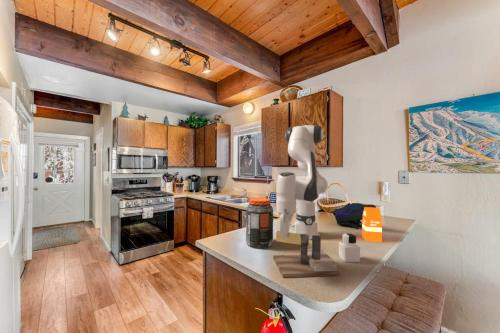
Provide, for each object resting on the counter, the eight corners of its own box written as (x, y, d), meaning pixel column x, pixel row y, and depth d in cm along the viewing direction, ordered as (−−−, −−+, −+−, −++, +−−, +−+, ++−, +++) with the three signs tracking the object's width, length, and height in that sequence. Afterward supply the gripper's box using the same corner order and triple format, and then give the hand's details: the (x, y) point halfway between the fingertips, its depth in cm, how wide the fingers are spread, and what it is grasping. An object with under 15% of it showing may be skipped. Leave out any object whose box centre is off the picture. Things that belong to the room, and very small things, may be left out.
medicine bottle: (352, 256, 109) (352, 232, 109) (360, 262, 101) (360, 237, 102) (338, 256, 108) (338, 232, 108) (345, 262, 101) (345, 236, 101)
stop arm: (309, 243, 98) (309, 234, 98) (308, 246, 94) (308, 237, 94) (278, 238, 103) (278, 230, 103) (275, 241, 99) (276, 232, 99)
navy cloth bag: (339, 234, 173) (381, 229, 162) (334, 229, 153) (382, 222, 141) (333, 209, 183) (372, 203, 171) (328, 201, 162) (372, 193, 151)
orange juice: (381, 242, 130) (382, 209, 130) (366, 240, 132) (366, 208, 132) (376, 237, 138) (377, 206, 138) (362, 236, 140) (362, 206, 140)
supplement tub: (256, 237, 135) (257, 196, 135) (278, 243, 125) (278, 199, 125) (239, 244, 122) (240, 199, 123) (262, 251, 113) (262, 202, 113)
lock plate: (273, 258, 104) (273, 228, 104) (320, 257, 107) (321, 228, 107) (282, 277, 86) (283, 241, 86) (339, 275, 89) (340, 240, 89)
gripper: (291, 212, 86) (291, 247, 86) (294, 205, 106) (293, 233, 106) (276, 211, 88) (275, 245, 88) (281, 204, 108) (280, 232, 107)
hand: (285, 238), depth 97 cm, fingers closed
